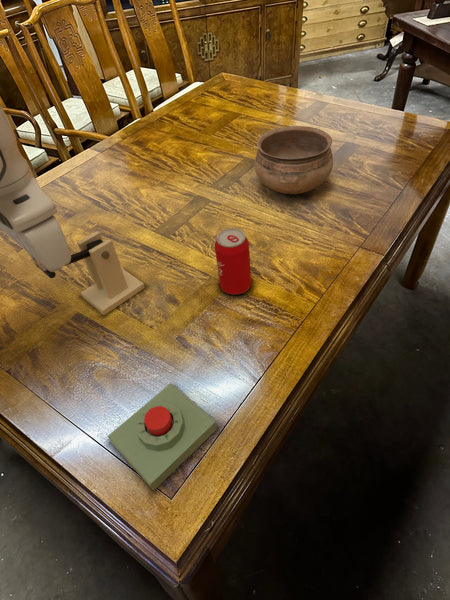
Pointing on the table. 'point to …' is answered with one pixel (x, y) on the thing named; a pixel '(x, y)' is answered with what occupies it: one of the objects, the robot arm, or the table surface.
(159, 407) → the button
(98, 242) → the press lever
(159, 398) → the button housing
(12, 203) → the robot arm
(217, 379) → the table surface
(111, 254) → the lever bracket
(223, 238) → the beverage can
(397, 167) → the table surface
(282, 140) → the cooking pot
